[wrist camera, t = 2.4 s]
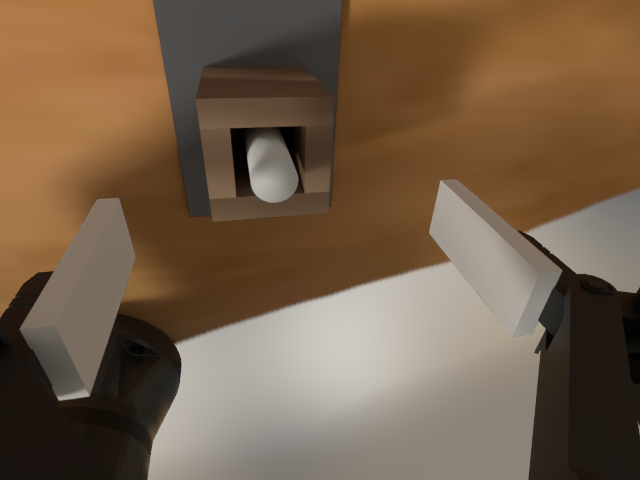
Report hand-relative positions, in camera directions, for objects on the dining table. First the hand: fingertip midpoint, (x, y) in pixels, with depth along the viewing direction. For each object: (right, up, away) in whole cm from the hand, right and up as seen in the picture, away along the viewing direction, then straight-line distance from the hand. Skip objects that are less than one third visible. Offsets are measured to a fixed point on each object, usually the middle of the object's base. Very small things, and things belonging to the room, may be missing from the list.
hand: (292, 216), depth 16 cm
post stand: (-4, +8, +13) cm, 16 cm away
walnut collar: (-3, +8, +13) cm, 16 cm away
